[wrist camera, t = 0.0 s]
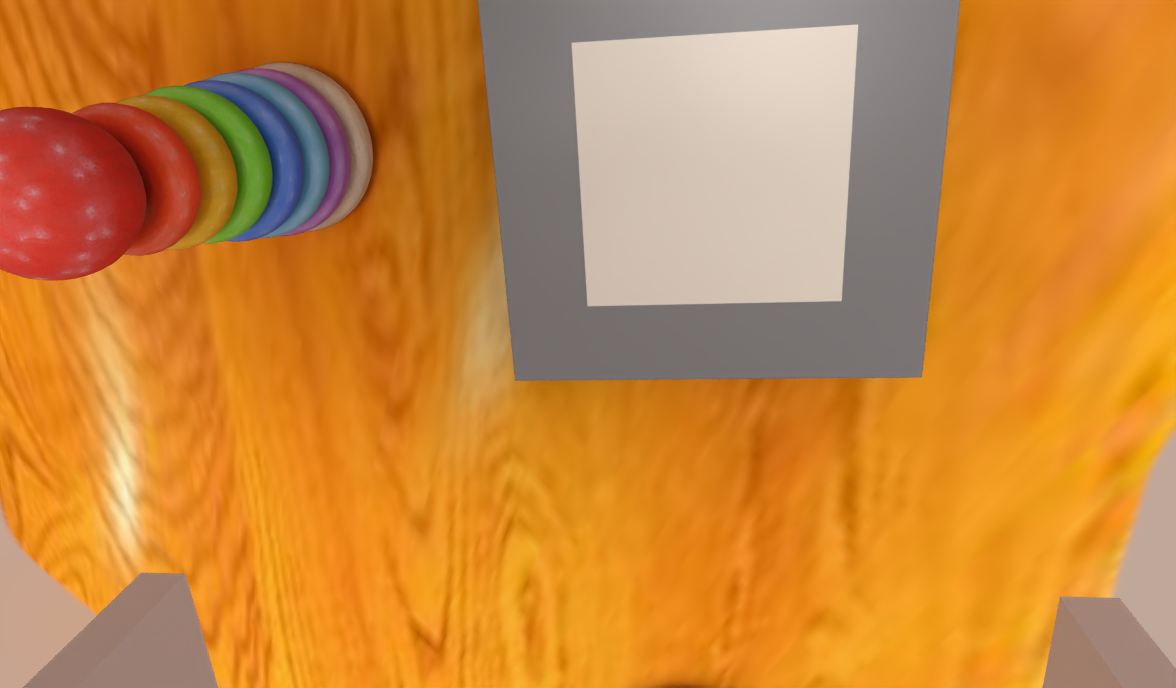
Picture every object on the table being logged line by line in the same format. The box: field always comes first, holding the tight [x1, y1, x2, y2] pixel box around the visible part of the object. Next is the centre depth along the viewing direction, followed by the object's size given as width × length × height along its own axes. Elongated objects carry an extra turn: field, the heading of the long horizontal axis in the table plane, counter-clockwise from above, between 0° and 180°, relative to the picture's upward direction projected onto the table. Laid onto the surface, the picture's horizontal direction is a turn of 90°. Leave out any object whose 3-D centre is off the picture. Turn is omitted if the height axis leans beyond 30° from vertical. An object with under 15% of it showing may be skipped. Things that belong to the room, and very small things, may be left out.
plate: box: [478, 0, 960, 381], centre depth 36 cm, size 20×20×2 cm
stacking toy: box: [0, 62, 373, 280], centre depth 30 cm, size 8×8×19 cm
